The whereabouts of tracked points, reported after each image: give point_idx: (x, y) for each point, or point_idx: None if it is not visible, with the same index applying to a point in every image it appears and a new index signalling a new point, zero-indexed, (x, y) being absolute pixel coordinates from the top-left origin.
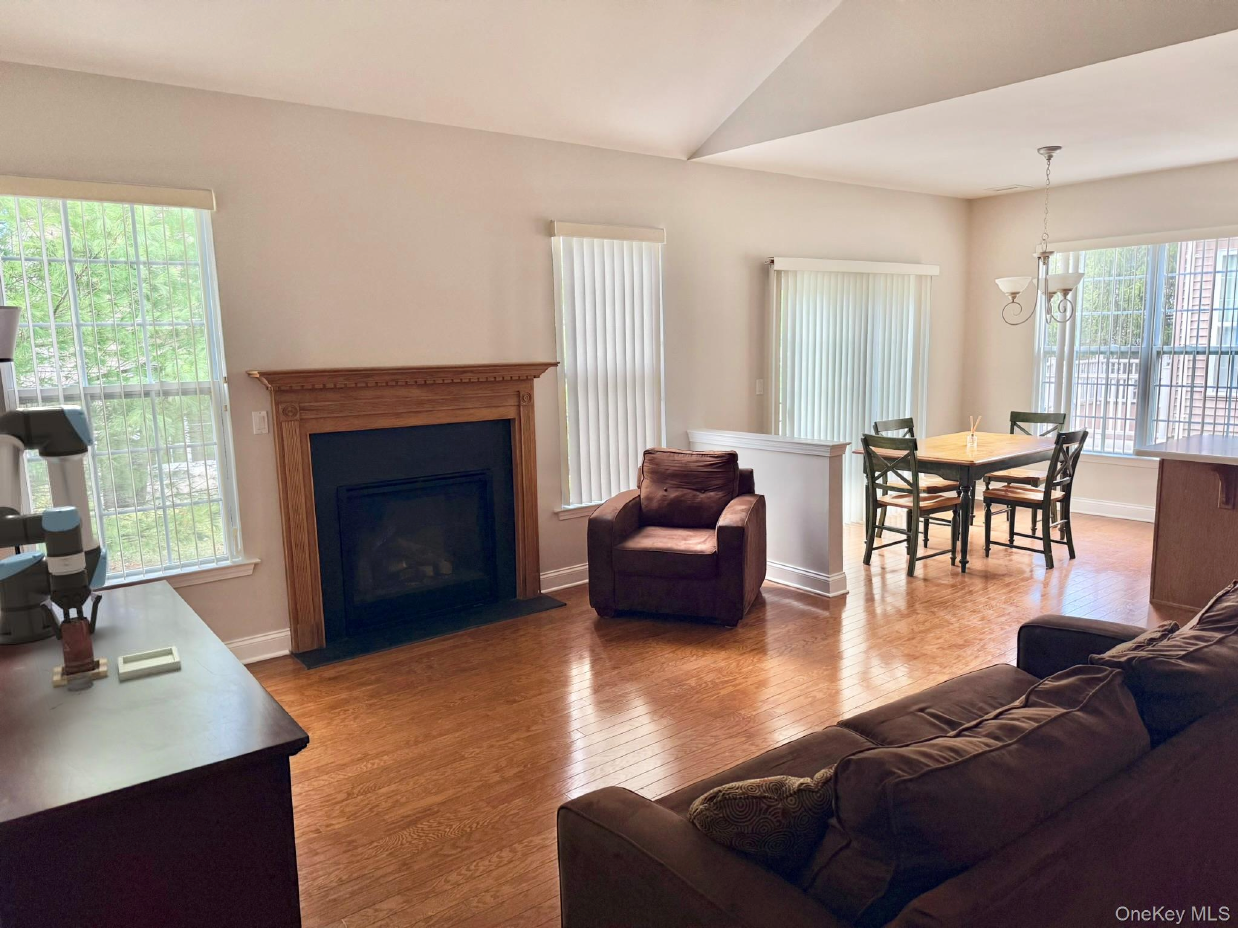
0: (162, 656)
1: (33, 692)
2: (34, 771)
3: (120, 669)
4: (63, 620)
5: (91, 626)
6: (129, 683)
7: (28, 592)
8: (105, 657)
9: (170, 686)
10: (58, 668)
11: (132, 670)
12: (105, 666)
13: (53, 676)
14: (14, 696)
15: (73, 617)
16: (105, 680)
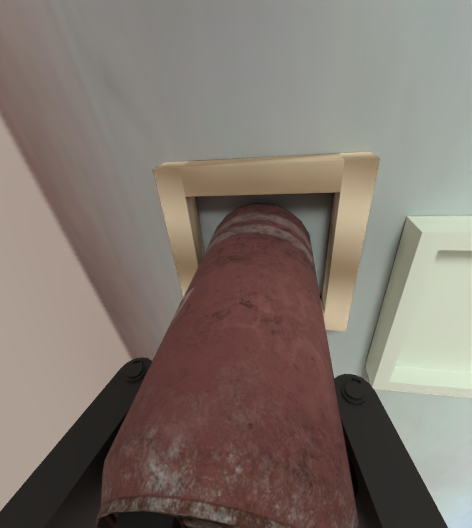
0: None
1: (152, 313)
2: None
3: (383, 368)
4: (100, 514)
5: (353, 490)
6: (380, 391)
7: None
8: (372, 167)
9: (452, 449)
10: (176, 207)
11: (411, 391)
12: (347, 294)
13: (181, 287)
14: (113, 312)
15: (184, 512)
16: (330, 341)
